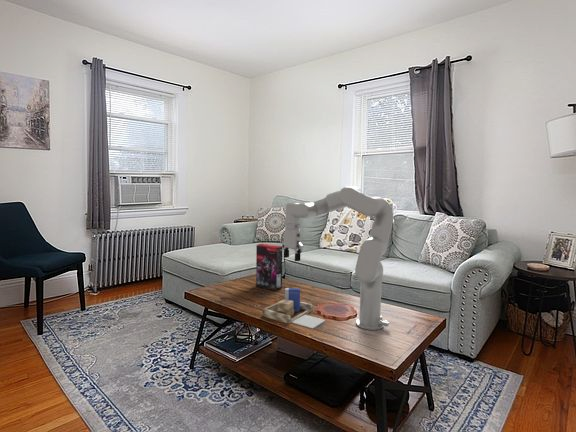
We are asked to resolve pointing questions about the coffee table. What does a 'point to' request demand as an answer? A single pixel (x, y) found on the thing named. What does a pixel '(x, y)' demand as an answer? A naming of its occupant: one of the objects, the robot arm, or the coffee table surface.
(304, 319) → the mat
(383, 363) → the coffee table surface
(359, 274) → the robot arm
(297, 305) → the walkman
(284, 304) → the offcut upper
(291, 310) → the offcut lower
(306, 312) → the rack
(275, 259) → the graphics card box
